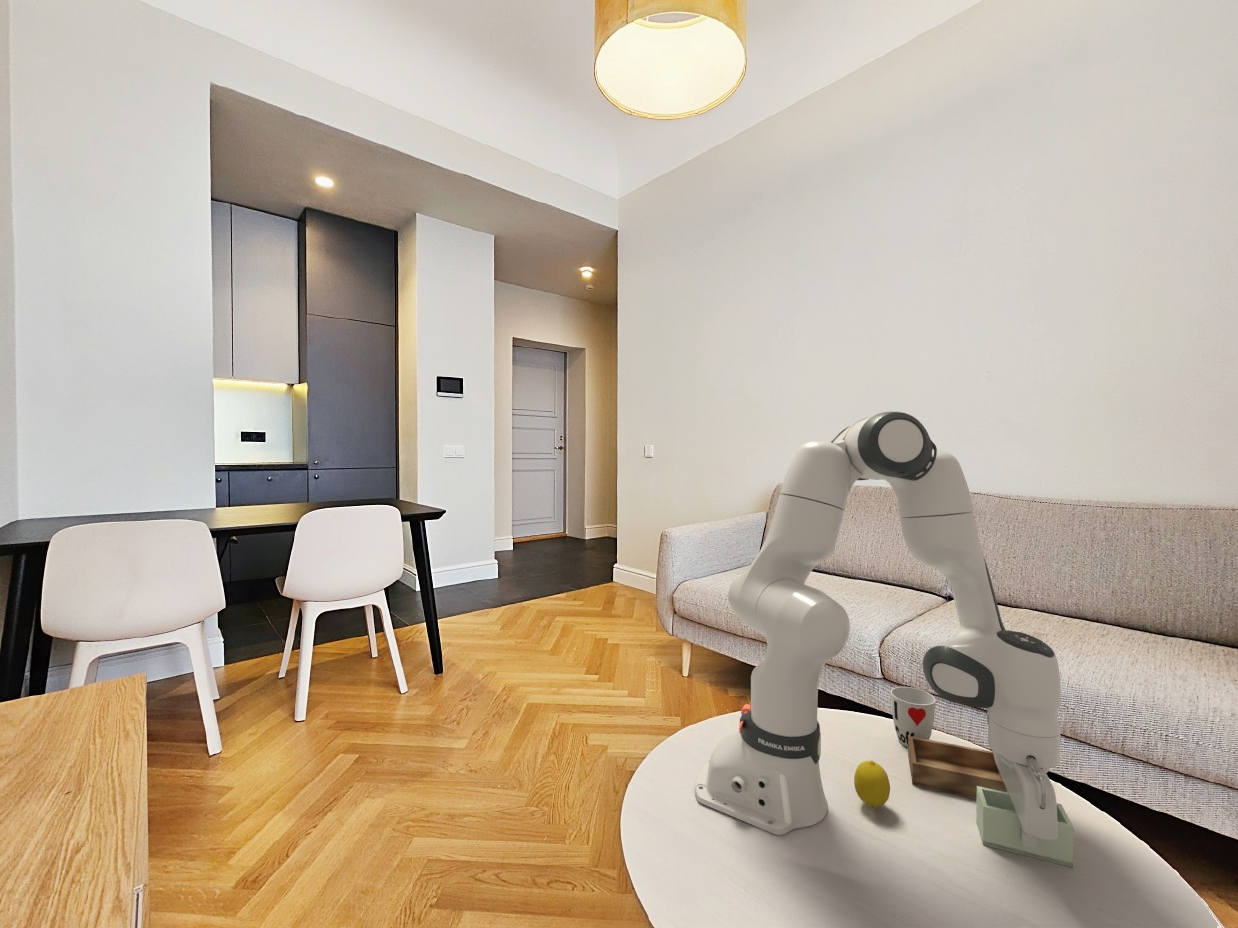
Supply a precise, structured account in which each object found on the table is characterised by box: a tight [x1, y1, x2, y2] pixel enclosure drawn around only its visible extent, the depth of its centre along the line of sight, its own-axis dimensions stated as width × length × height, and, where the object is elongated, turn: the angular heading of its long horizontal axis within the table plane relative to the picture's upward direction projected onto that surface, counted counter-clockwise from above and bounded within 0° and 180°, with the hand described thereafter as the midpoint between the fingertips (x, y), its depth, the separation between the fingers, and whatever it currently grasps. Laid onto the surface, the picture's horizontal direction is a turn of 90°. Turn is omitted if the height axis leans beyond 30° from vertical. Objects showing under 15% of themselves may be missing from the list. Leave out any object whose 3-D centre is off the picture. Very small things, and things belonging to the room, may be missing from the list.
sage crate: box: [975, 786, 1075, 868], centre depth 82 cm, size 11×6×6 cm, turn 65°
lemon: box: [853, 760, 891, 809], centre depth 91 cm, size 6×6×8 cm
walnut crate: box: [907, 736, 1007, 800], centre depth 98 cm, size 15×10×4 cm, turn 65°
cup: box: [890, 686, 937, 748], centre depth 110 cm, size 8×8×10 cm
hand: (1022, 828), depth 82 cm, fingers closed on sage crate, 5 cm apart
